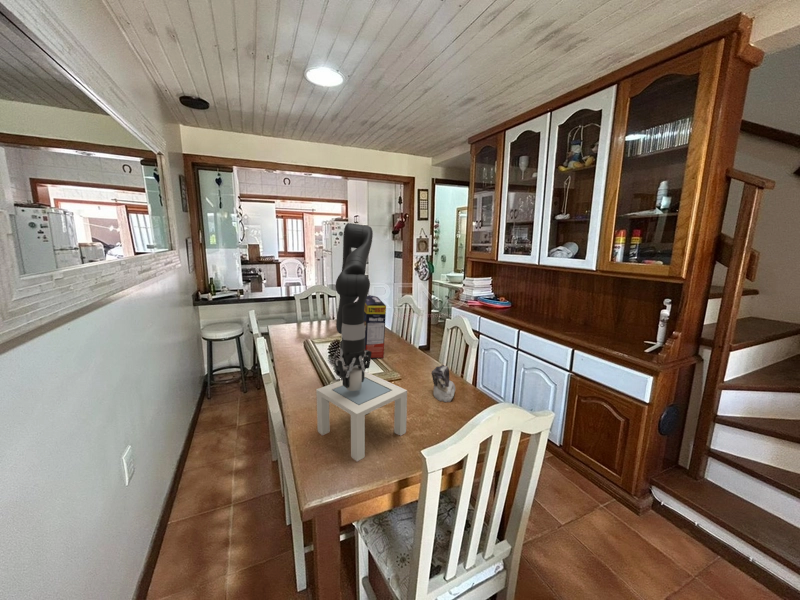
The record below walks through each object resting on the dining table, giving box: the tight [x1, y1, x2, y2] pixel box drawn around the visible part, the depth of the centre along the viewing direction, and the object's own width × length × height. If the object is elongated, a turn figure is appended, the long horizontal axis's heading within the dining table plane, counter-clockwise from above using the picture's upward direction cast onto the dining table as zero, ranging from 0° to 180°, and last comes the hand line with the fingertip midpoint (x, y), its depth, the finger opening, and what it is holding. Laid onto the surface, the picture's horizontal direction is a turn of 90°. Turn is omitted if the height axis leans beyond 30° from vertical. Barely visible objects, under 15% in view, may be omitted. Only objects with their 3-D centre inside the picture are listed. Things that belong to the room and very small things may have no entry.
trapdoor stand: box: [315, 371, 408, 462], centre depth 115 cm, size 22×22×16 cm
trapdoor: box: [333, 378, 391, 405], centre depth 114 cm, size 14×14×1 cm
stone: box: [431, 364, 456, 403], centre depth 144 cm, size 14×10×15 cm
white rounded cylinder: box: [346, 367, 362, 391], centre depth 111 cm, size 5×5×6 cm
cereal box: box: [364, 294, 387, 360], centre depth 195 cm, size 27×11×32 cm, turn 14°
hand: (353, 384), depth 111 cm, fingers open, 5 cm apart
